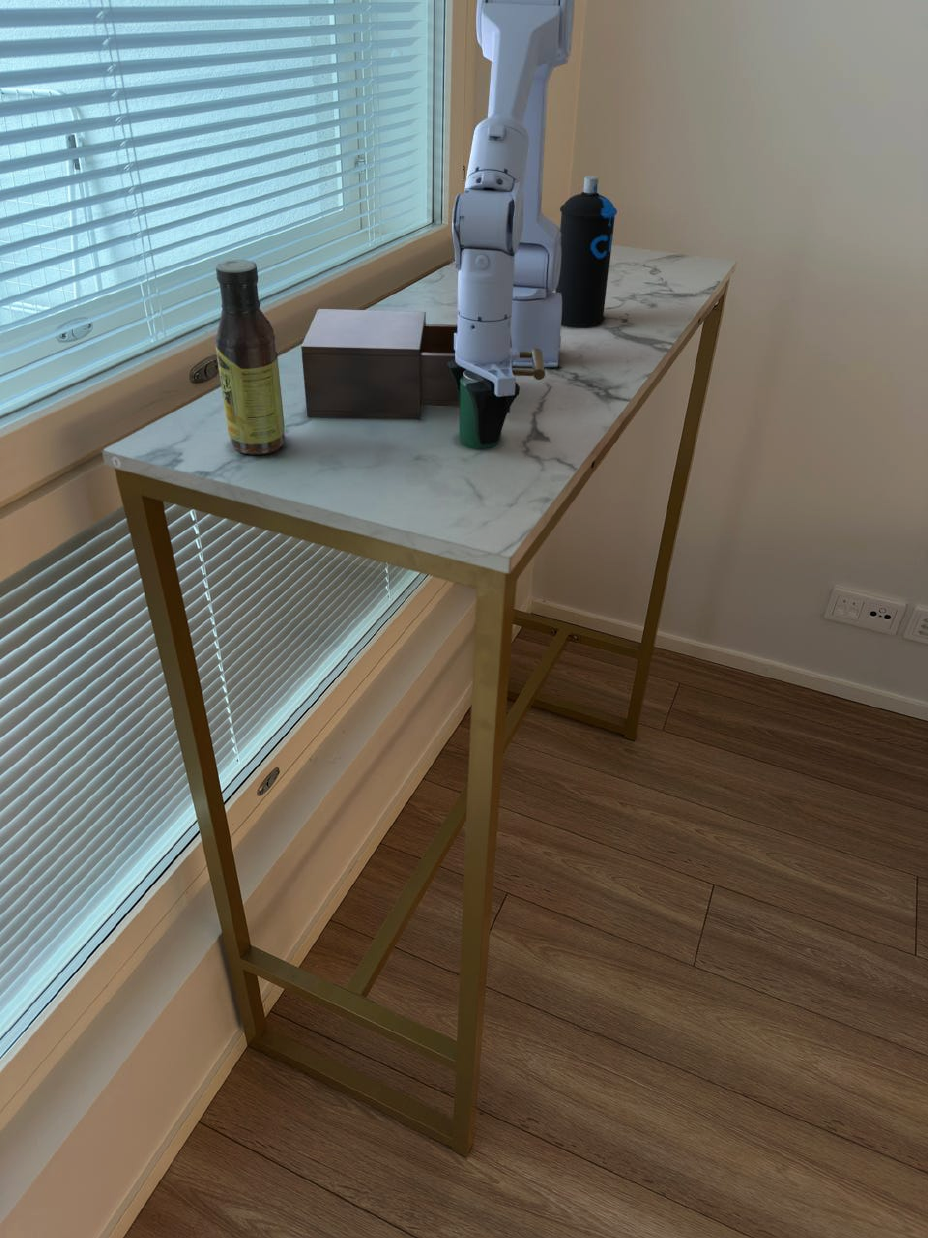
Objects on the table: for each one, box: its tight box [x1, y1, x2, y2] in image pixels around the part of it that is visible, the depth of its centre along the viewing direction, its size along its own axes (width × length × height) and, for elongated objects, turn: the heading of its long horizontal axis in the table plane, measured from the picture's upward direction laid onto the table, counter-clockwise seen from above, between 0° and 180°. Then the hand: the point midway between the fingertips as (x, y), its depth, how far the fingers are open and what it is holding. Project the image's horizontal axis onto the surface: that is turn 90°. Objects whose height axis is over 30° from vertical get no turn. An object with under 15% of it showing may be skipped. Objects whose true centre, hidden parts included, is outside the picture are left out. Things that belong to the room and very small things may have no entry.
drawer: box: [420, 323, 546, 414], centre depth 111 cm, size 17×12×7 cm
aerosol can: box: [554, 175, 618, 328], centre depth 134 cm, size 8×8×20 cm
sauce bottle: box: [214, 259, 286, 456], centre depth 96 cm, size 6×6×20 cm
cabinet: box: [300, 308, 427, 421], centre depth 111 cm, size 14×14×9 cm
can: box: [458, 370, 502, 451], centre depth 102 cm, size 5×5×8 cm
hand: (480, 432), depth 104 cm, fingers closed on can, 5 cm apart
